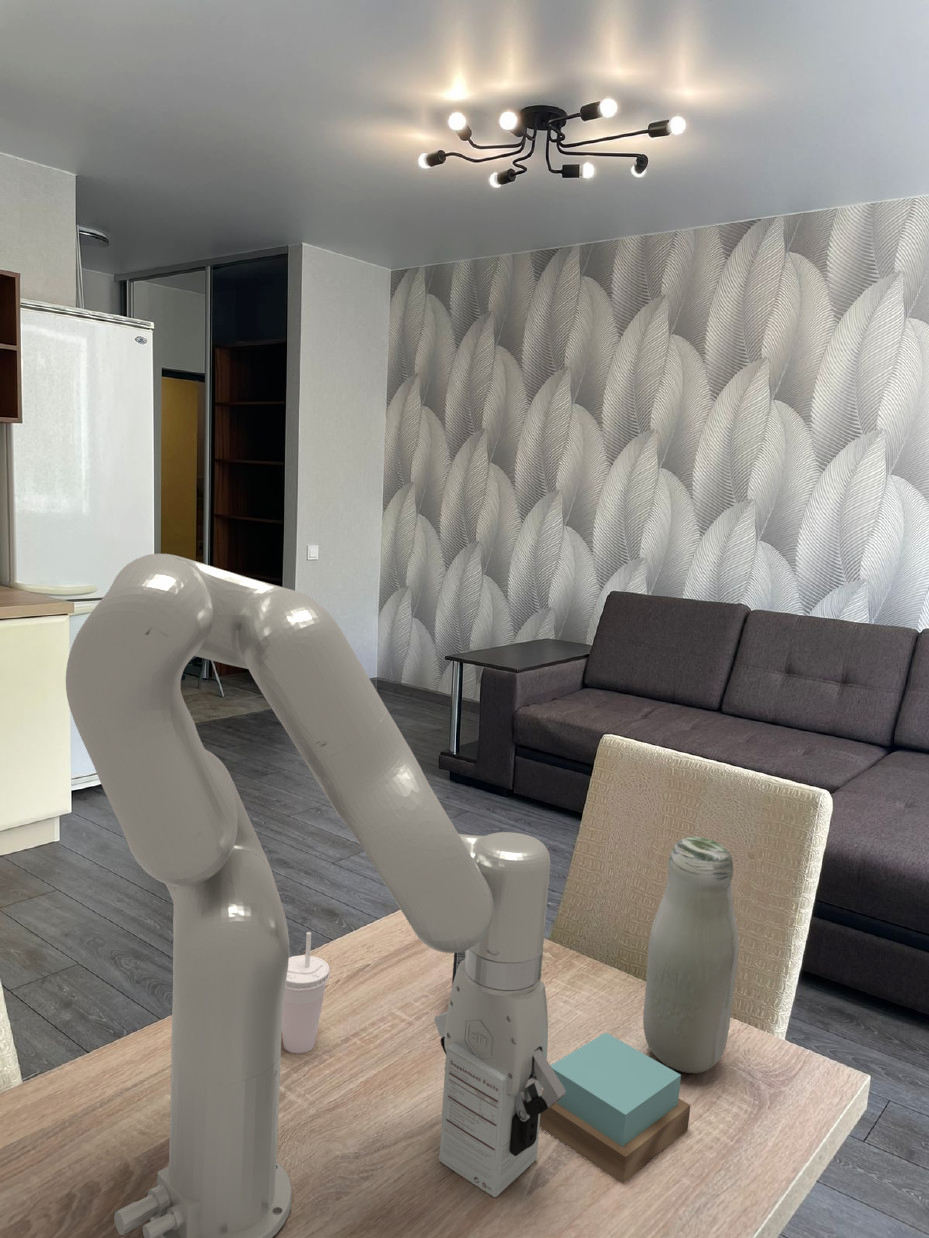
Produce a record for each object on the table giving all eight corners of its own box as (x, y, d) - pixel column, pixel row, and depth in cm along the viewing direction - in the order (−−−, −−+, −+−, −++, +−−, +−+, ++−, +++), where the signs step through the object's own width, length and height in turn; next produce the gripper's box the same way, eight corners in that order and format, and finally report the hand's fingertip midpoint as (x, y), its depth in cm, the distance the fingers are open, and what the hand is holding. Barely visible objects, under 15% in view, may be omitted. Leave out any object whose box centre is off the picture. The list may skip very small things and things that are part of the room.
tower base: (622, 1188, 92) (625, 1156, 91) (530, 1125, 100) (533, 1095, 99) (687, 1134, 100) (690, 1104, 100) (597, 1080, 108) (600, 1052, 108)
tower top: (622, 1146, 92) (625, 1114, 92) (546, 1095, 100) (549, 1065, 99) (677, 1104, 99) (681, 1074, 99) (603, 1060, 107) (605, 1032, 106)
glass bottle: (734, 1057, 114) (759, 840, 110) (706, 1100, 105) (733, 866, 101) (658, 1027, 119) (679, 819, 115) (625, 1066, 110) (648, 842, 106)
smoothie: (331, 1055, 109) (337, 943, 107) (277, 1064, 106) (281, 950, 104) (319, 1024, 115) (324, 918, 113) (267, 1032, 112) (271, 924, 110)
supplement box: (481, 1125, 98) (490, 1015, 97) (538, 1160, 94) (549, 1045, 92) (435, 1161, 93) (444, 1045, 91) (494, 1200, 88) (504, 1079, 86)
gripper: (414, 938, 94) (404, 1098, 96) (548, 1014, 82) (532, 1194, 84) (466, 917, 99) (456, 1068, 101) (598, 985, 87) (583, 1155, 89)
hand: (490, 1124), depth 93 cm, fingers closed on supplement box, 7 cm apart
